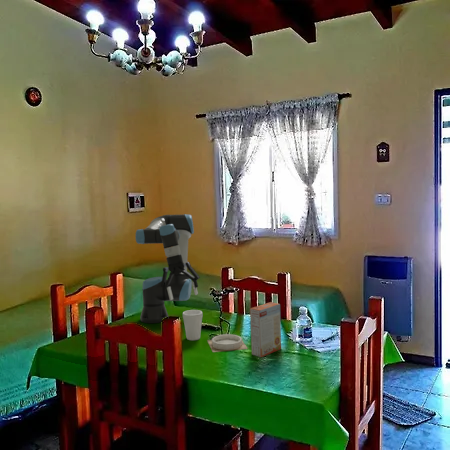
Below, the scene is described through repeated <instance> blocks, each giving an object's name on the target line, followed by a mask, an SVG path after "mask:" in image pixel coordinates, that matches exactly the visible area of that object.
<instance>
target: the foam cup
mask: <svg viewBox="0 0 450 450" xmlns="http://www.w3.org/2000/svg"><path fill="white" fill-rule="evenodd" d="M203 317H204V316H203V311H202V310H198V309H190V310H185V311H183V312H182V319H183V323H184V329H185V330H184V331H185V336H186V339H187V340H189V341H198V340H200V339H201V332H202V323H203Z"/></svg>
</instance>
